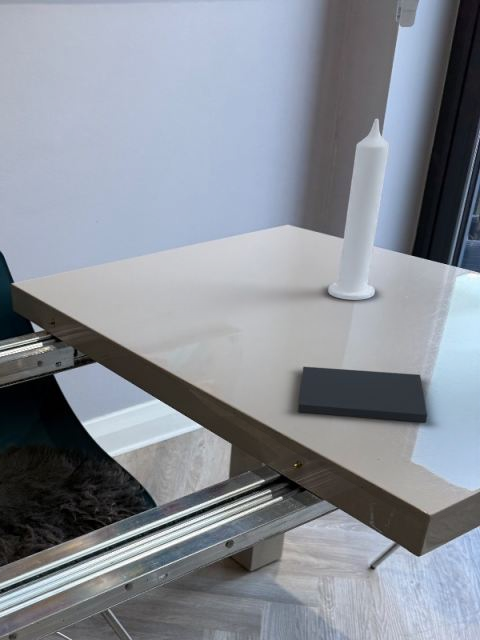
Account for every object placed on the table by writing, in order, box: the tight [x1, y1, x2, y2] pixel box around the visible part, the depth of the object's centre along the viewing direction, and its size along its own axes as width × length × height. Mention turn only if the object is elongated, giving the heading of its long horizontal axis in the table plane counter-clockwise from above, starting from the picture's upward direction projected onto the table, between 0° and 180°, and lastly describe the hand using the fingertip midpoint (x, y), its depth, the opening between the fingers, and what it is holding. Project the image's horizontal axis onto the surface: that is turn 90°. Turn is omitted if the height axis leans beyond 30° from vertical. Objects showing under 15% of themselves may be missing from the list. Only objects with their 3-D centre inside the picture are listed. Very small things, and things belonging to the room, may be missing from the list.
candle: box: [327, 118, 390, 301], centre depth 117 cm, size 7×7×25 cm
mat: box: [297, 366, 428, 423], centre depth 94 cm, size 14×11×1 cm
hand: (403, 24), depth 106 cm, fingers open, 8 cm apart
